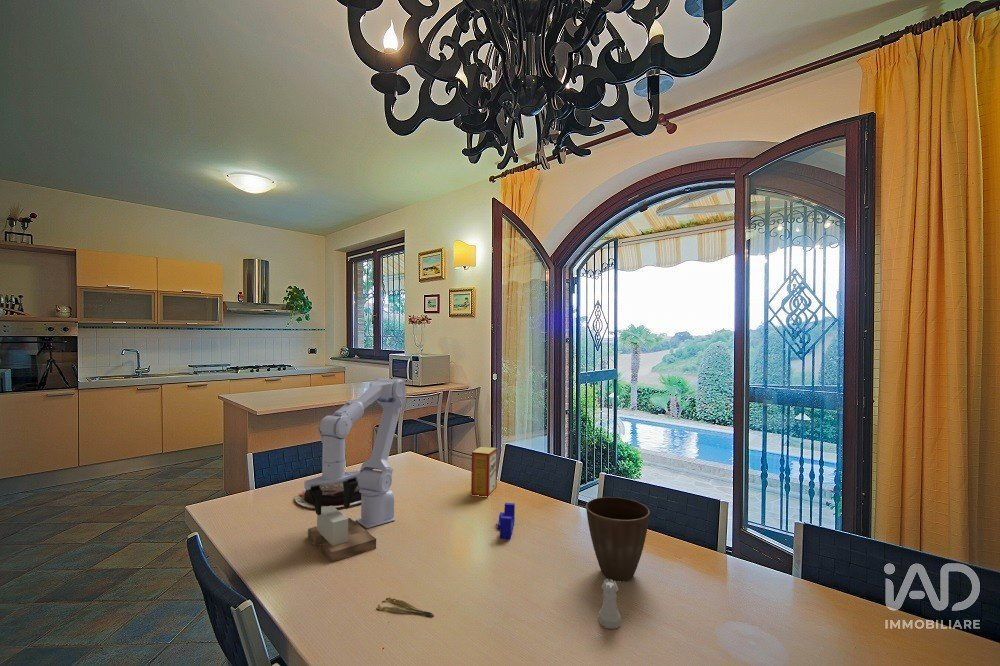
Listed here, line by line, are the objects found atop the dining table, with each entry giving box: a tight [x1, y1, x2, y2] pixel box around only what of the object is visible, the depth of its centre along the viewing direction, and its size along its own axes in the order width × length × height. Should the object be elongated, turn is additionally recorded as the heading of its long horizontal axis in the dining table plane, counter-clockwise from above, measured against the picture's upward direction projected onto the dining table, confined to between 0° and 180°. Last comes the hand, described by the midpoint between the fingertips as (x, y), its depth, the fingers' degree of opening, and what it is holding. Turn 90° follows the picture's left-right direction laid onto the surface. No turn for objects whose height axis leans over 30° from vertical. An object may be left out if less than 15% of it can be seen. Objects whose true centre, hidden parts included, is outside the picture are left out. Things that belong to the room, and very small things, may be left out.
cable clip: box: [497, 502, 516, 540], centre depth 132 cm, size 12×4×6 cm, turn 173°
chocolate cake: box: [294, 482, 361, 510], centre depth 158 cm, size 28×28×7 cm
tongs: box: [376, 596, 435, 618], centre depth 92 cm, size 4×13×2 cm, turn 75°
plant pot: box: [585, 496, 651, 583], centre depth 107 cm, size 15×15×16 cm
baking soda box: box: [470, 446, 498, 497], centre depth 164 cm, size 10×6×16 cm
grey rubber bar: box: [316, 506, 349, 546], centre depth 121 cm, size 4×12×6 cm, turn 41°
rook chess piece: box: [597, 578, 622, 630], centre depth 89 cm, size 4×4×8 cm
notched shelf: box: [307, 517, 377, 563], centre depth 122 cm, size 12×18×2 cm, turn 41°
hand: (332, 510), depth 121 cm, fingers open, 7 cm apart
